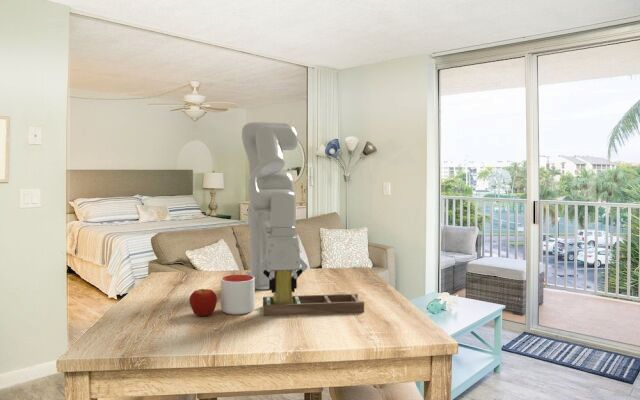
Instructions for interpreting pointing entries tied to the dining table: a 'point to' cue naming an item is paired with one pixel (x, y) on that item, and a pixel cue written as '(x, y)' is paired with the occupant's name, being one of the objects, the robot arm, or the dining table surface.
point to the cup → (237, 294)
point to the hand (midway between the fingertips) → (282, 290)
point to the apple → (203, 302)
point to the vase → (283, 287)
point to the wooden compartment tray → (315, 305)
